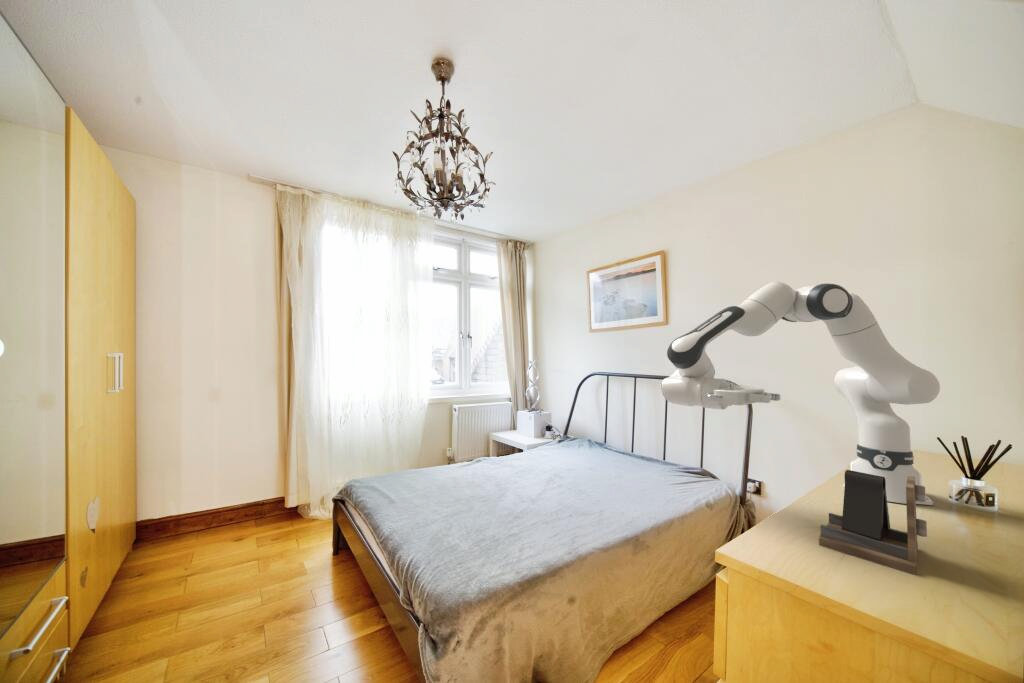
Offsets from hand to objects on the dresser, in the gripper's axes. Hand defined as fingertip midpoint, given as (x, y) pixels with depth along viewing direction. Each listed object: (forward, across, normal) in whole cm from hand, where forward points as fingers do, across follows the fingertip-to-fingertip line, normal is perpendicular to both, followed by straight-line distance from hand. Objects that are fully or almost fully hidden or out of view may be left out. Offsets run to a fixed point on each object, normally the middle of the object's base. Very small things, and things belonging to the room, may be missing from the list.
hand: (775, 398), depth 95 cm
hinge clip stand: (+17, -4, +30) cm, 35 cm away
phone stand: (+17, -4, +27) cm, 32 cm away
